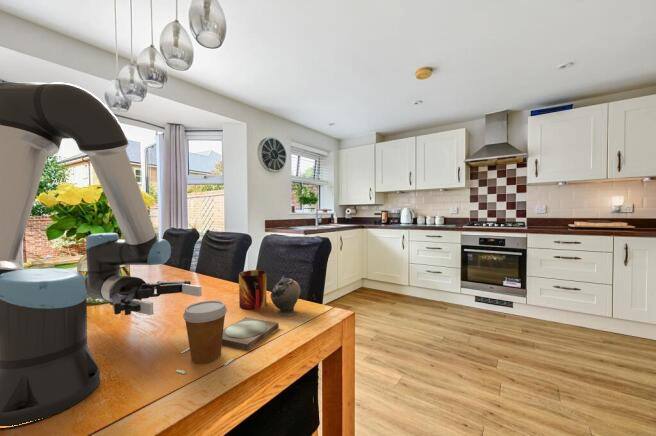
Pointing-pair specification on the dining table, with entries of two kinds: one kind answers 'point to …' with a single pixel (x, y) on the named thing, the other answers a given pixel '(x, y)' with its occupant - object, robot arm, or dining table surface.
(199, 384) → the dining table surface
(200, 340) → the disposable coffee cup
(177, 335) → the dining table surface
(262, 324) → the board
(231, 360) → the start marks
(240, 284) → the mug
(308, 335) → the dining table surface
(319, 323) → the dining table surface
